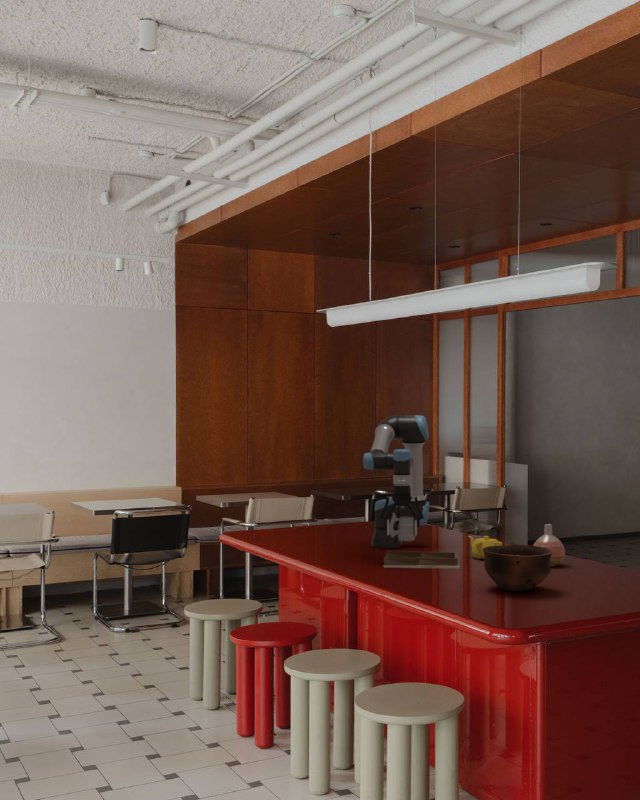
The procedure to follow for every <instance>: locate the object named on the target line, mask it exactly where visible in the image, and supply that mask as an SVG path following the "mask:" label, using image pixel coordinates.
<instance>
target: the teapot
mask: <svg viewBox="0 0 640 800" xmlns="http://www.w3.org/2000/svg"><path fill="white" fill-rule="evenodd" d="M482 536H483V537H481V538H480V537H479V538H475V539H474V537H473V536H471V535H467V537H468V538H469V539H470V546H471V547H470V548H471V554H472V557H473V558H475V559H476V560H482V559H483V560H485V557H484V552H483V548H485V547H489V546H502V545H503V542H501V541H499V540H498V539H495V538H489V537H490V536H489V535H482Z"/></svg>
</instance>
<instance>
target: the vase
mask: <svg viewBox="0 0 640 800" xmlns="http://www.w3.org/2000/svg"><path fill="white" fill-rule="evenodd" d="M543 532H544V533H543V534H542V535H541V536H540V537H539V538H537V540H536V541H535V542H534V543H533V545H532V546H538V547H543V548H546V549H549V550H551V551H552V554H551V559H550V565H557V566H558V565H559V564H560V563H562V562H563V560H564V559H565V557H566V556H565V554H566V550H565V547H564V544H563V543H562V541H561V540H560V539H559V538H557V537H556V536H555V535H554V534H553V525H552V524H551V523H545V524H544V531H543Z"/></svg>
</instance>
